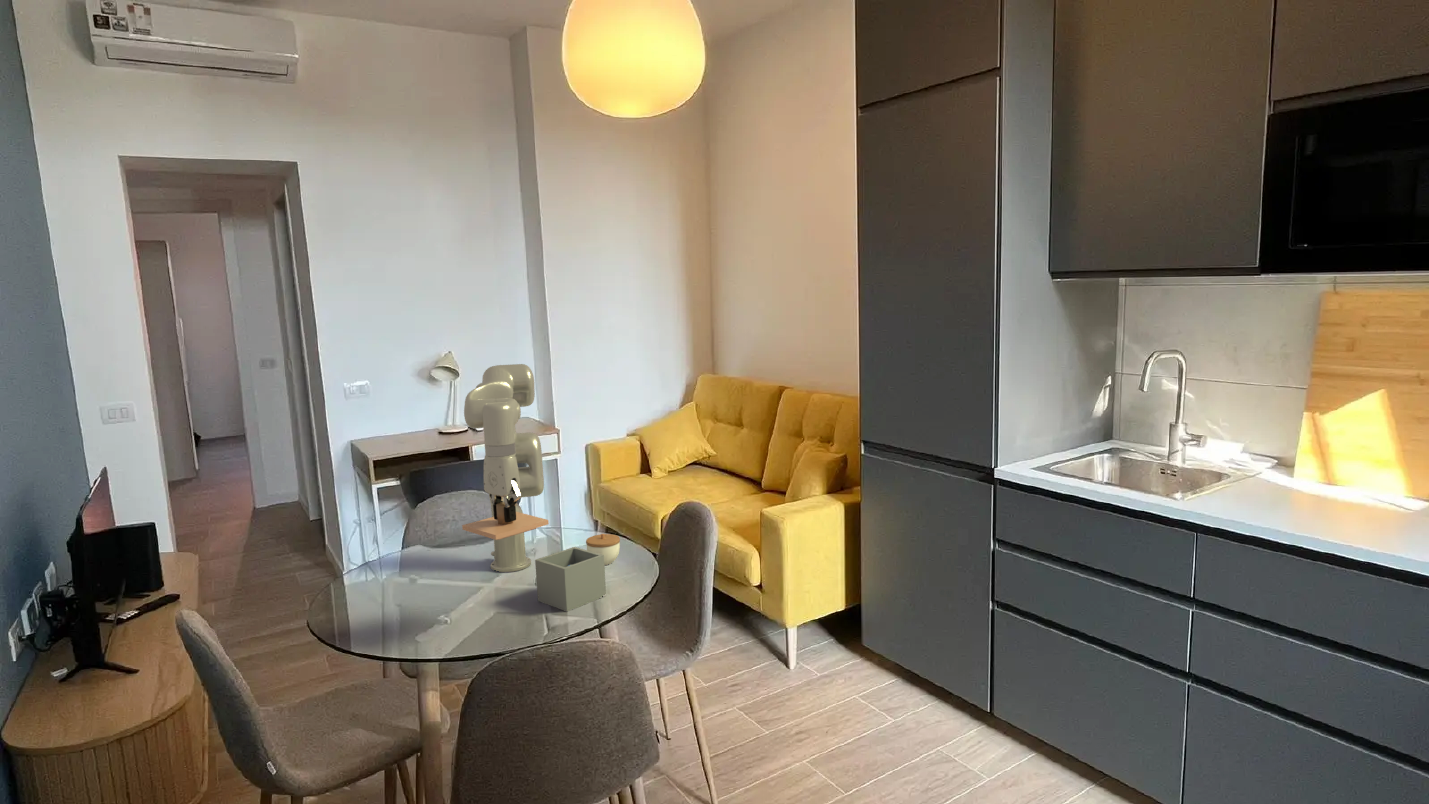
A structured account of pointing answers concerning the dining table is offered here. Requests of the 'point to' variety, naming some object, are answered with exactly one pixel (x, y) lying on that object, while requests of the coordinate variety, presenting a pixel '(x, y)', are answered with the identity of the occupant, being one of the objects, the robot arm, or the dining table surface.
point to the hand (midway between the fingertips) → (505, 519)
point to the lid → (504, 524)
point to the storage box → (570, 578)
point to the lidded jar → (604, 546)
